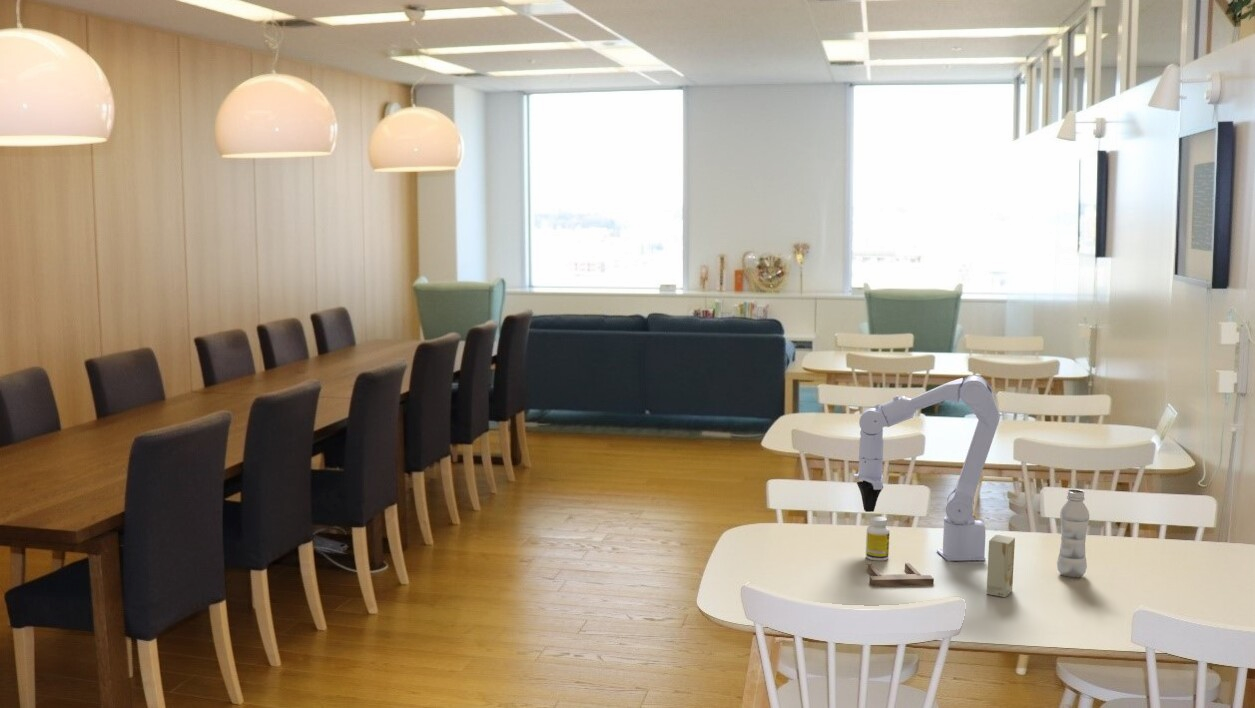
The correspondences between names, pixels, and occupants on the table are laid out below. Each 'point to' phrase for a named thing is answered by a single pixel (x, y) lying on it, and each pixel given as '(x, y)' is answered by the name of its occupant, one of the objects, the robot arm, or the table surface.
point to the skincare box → (1000, 565)
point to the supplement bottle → (877, 539)
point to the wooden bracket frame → (899, 577)
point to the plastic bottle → (1073, 535)
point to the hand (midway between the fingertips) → (869, 511)
